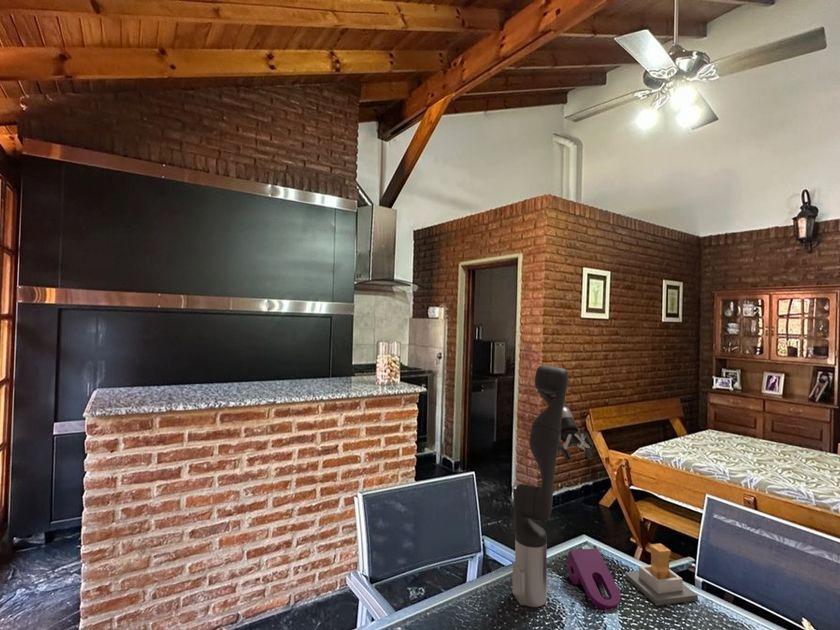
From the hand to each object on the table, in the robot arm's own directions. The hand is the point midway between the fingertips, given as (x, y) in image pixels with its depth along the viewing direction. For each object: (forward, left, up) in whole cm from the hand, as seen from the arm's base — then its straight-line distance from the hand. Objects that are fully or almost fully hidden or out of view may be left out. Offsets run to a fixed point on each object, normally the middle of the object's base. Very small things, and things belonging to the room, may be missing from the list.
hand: (580, 459), depth 159 cm
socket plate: (+12, -26, -33) cm, 43 cm away
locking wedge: (+12, -26, -31) cm, 42 cm away
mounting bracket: (-9, -23, -33) cm, 42 cm away
